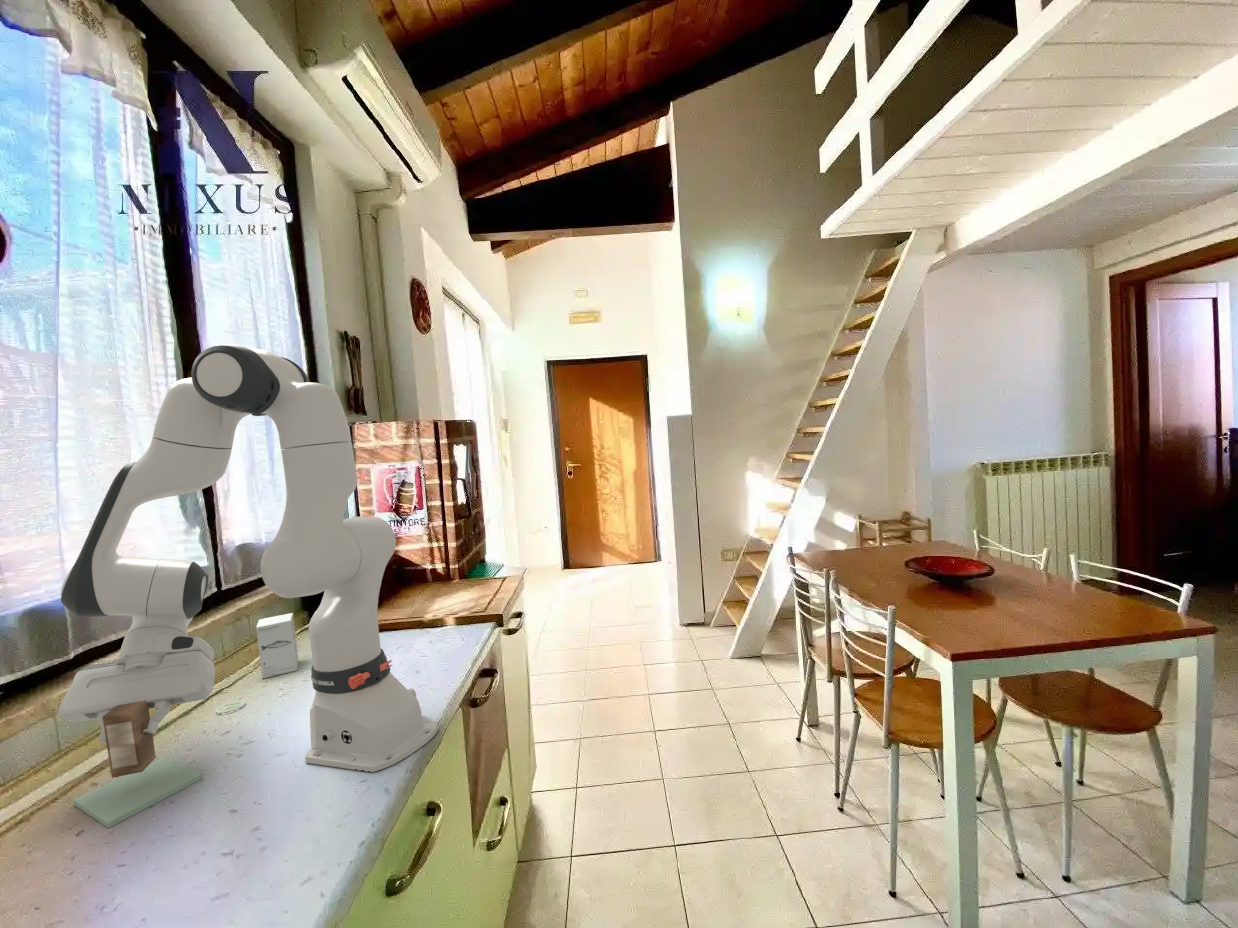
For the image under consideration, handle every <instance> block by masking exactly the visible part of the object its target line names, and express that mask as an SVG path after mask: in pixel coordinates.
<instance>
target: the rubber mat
mask: <svg viewBox="0 0 1238 928" xmlns="http://www.w3.org/2000/svg"><path fill="white" fill-rule="evenodd" d="M202 775H203V774H202V773H200V772H198V771H196V770H194V769H192V768H189V767H187V766H186V765H183V764H181V763H179V762H177V761H175V760H172V759H171V758H168V757H166V756H163V757H161V758H159V759H156V760H155V761H152V762H151V763H150V764H149V765H148V766H147V767H146V768H145V769H144V771H143V772H139V773H134V774H129V775H124V776H120V777H119V778H116V779H115V780H112V781H110V782H108V783H106V784H104V785H102V786H100V787H98V788H96V789H93V790H91V791H89V792H87V793H85V794H82V795H81V796H78V797H76V798H74V799H73V800H72V801H73V805H74V806H75V805H76V806H75V807H77V808H78V809H80V810H81V811H83V812H84V813H86V814H87V815H88V816H89V817H92V818H93V819H94V820H96V821H97V822H98V823H100V824H102V825H103V826H104V827H106V828H107V829H110V828H112V827H113V826H116V825H117V824H119V823H121V822H123V821H124V820H126V819H128V818H130V817H132V816H134V815H136V814H138V813H140V812H141V811H144V810H146V809H147V808H149V807H152V806H154V805H155V804H156V803H159V802H160V801H162V800H165V799H166V798H168V797H171V796H172V795H174V794H175V793H178V792H180V791H182V790H184V789H186V788H188V787H189V786H191V785H193V784H195V783H197V782H198V781H200V780H202V779H203V776H202Z"/></svg>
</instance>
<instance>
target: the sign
mask: <svg viewBox="0 0 1238 928" xmlns="http://www.w3.org/2000/svg"><path fill="white" fill-rule="evenodd" d="M245 704H246V705H247V702H246V700H244V699H241V700H239V699H238V700H234V701H233V700H232V701H229V702H226V703H224V704H222V705H220V706H218V707H217V708H216V709H215V714H216V713H217V714H218V713H219V714H222V713H228V712H231V711H235V710H236V709H239V708H242V707H243V708H245V707H246V705H245ZM244 706H245V707H244ZM243 708H242V709H243ZM217 714H216V715H217Z"/></svg>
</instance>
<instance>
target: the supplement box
mask: <svg viewBox="0 0 1238 928" xmlns="http://www.w3.org/2000/svg"><path fill="white" fill-rule="evenodd" d="M294 620H295V619H294V612H290V613H285V614H279V615H274V616H270V617H264V618H260V619H258V621H257V624H256V627H255V628H256V629H255V630H256V637H257V646H258V654H259V662H260V670H261V679H263V678H264V679H267V678H270V677H274V676H279V675H283V674H287V673H292V672H297V671H298V666H299V656H298V644H297V637H296V636H297V635H296V628H295V622H294ZM264 679H263V680H264Z"/></svg>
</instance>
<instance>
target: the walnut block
mask: <svg viewBox="0 0 1238 928" xmlns="http://www.w3.org/2000/svg"><path fill="white" fill-rule="evenodd" d="M150 716H151V715H150V709H149V708H148V703H147V702H146V700H145V701H139V702H134V703H128V704H122V705H117V706H115V707H114V708H113V709H111V710H110V711H109V712H108V713H106V714H105V715H104V716H103V724H104V730H105V737H106V743H105V744H106V750H107V754H108V761H109V768H110V773H111V778H112V779H113V778H118V777H119V778H120V777H123V776H125V775H129V774H134V773H139V772H143V771H144V769H145V768H146V767H147V766H148V765H149V764H150V763H153V762H154V760H155V759H156V758H157V756H156V751H155V743H154V736H153V735H154V734H149V735H143V734H141V733H140V730H141V728H142V723H143V721H148V720H149V719H150V718H151V717H150Z"/></svg>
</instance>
